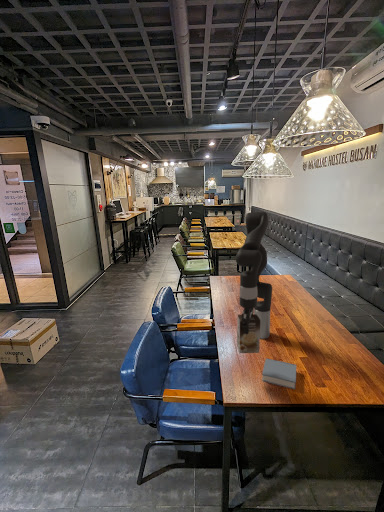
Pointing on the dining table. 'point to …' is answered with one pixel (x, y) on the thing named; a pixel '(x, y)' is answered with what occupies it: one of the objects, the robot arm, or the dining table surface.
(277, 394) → the dining table surface
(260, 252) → the robot arm
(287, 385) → the book
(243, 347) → the coffee box
